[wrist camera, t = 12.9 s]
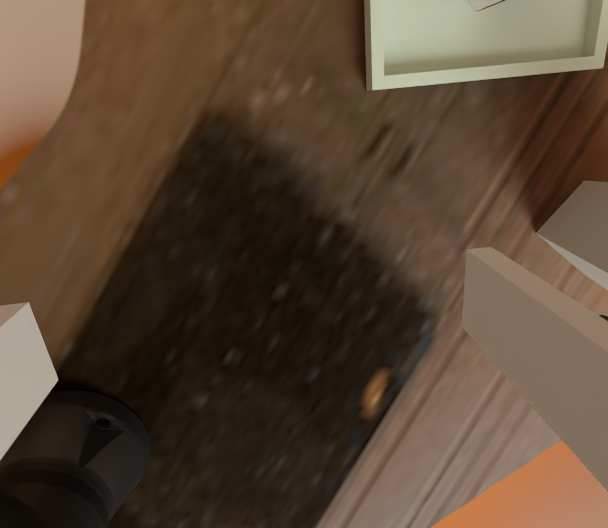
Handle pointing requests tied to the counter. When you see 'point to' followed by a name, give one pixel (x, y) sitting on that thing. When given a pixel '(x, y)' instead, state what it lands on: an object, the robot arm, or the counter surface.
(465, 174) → the counter surface
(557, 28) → the tray
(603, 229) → the soap bottle
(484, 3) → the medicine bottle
